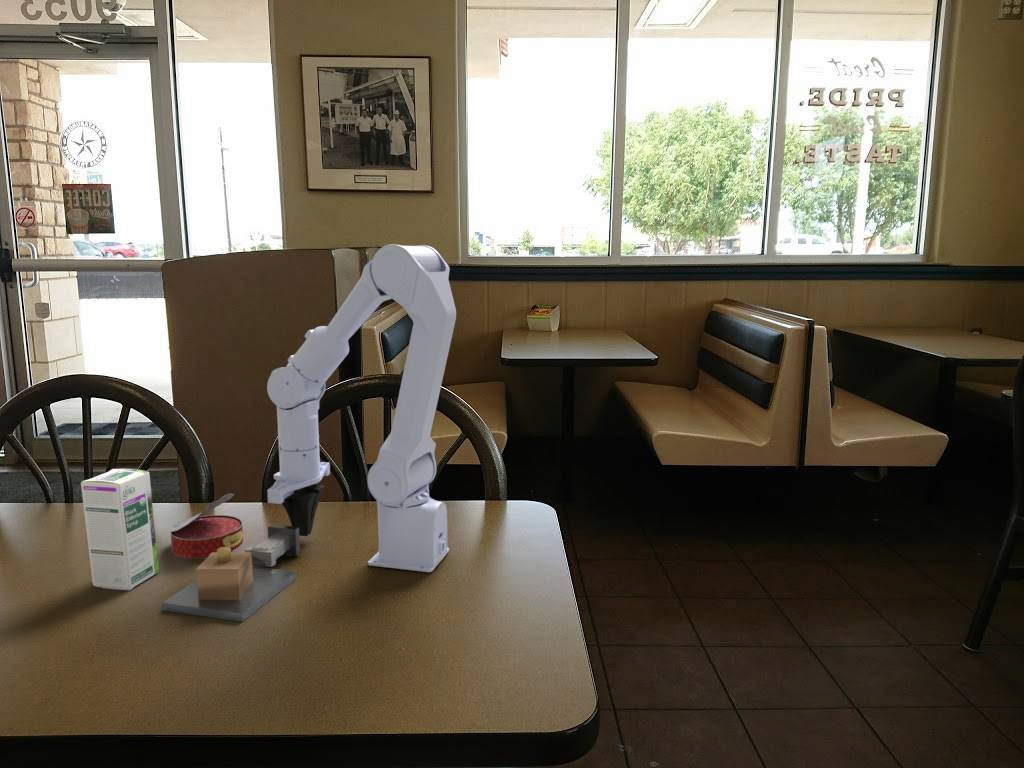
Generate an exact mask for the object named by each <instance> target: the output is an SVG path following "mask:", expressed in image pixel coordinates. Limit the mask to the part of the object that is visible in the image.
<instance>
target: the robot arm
mask: <svg viewBox="0 0 1024 768" xmlns="http://www.w3.org/2000/svg"><path fill="white" fill-rule="evenodd" d="M450 270H451V269H450V266H449V265H448V263H447V262H446V261H445V260H444V258H443V257H442V255H441V254H440V253H439V252H438V251H437V249H435V248H434V247H432V246H429V245H426V244H420V245H419V244H418V245H401V244H396V243H391V244H386V245H384V246H382V247H381V248H379V249H378V250H377V251H376V252H375V254H374V256H373V258H372V260H369V261H368V262H367V263H366V264H365V265H364V266H363V270H362V272H361V276H360V278H359V280H358V281H357V283H356V284H355V286H354V287H353V288H352V290H351V291H350V293H349V294H348V296H347V297H346V298H345V300H344V302H343V303H342V304H341V306H340V307H339V309H338V310H337V312H336V313H335V315H334V316H333V318H331V321H330V322H329V323H328V325H320V326H317V327H315V328H314V329H309V330H307V332H306V333H305V334H304V338H305V341H304V342H303V343H302V345H301V346H300V347H299V348H298V350H297V351H296V352H295V354H293V355H290V356H289V358H287V362H288V363H287V365H286V366H285V367H283V366H281V367H277V368H275V369H274V370H272V371H271V374H270V376H269V377H268V380H267V384H266V385H267V386H266V390H267V394H268V397H269V399H270V400H271V402H272V403H273V404H274V405H275V406H276V417H277V419H276V421H277V438H278V439H277V440H278V456H279V457H278V458H279V471H278V472H276V473H274V474H273V479H274V480H276V481H274V483H273V485H271V486H270V487H269V488H268V489H267V491H266V492H267V503H268V504H276V505H282V506H283V509H284V510H285V511H286V514H287V517H288V518H289V522H290V524H291V525H290V526H292V527H299V537H308V536H309V535H310V534H311V533H312V531H313V525H314V521H315V516H316V514H317V509H318V506H319V503H320V500H321V499H322V496H323V494H324V492H325V485H324V484H319V483H320V482H321V480H322V479H323V478H324V477H327V476H329V475H331V464H330V462H326V461H321V459H320V456H321V455H320V440H319V439H320V434H319V431H320V430H319V409H320V401H321V398H322V397H323V396H324V393H325V392H326V387H327V386H326V382H327V381H328V379H329V378H330V377H331V376H332V375H333V373H334V372H335V370H337V368H338V367H339V366H340V364H341V363H342V362H343V361H344V359H345V358H346V357H347V356H348V355H349V352H350V345H349V340H350V338H351V337H352V336H353V335H354V334H355V333H356V332H357V331H358V330H359V329H360V327H362V326H363V324H364V323H365V322H366V321H367V320H368V319H369V317H370V316H371V315H372V314H374V312H375V311H376V310H377V309H378V307H379V306H380V305H381V304H382V303H383V302H386V301H388V300H394V301H395V302H396V303H397V304H399V305H400V306H401V307H402V308H403V309H404V310H405V312H406V313H407V314H408V316H409V317H410V319H411V320H412V323H413V325H412V329H411V334H410V338H409V344H408V349H407V352H406V359H405V363H404V368H403V373H402V376H401V377H402V378H401V383H400V388H399V392H398V397H397V402H396V407H395V412H394V417H393V422H392V427H391V430H390V434H389V435H388V436H387V438H386V439H385V440H384V443H383V444H382V445H381V447H380V448H379V451H378V456H377V459H376V461H375V462H374V464H372V466H371V467H370V469H369V470H368V473H367V481H366V482H367V486H368V490H369V492H370V494H371V496H373V498H374V499H375V500H376V505H377V530H378V531H377V532H378V534H377V535H378V538H377V539H378V551H377V553H375V554H374V555H373V557H371V558H370V559H369V560H368V561H367V565H368V566H370V567H371V566H372V567H381V568H387V569H388V568H389V569H395V570H396V569H397V570H407V571H415V572H421V573H431V572H433V571H434V570H435V569H436V567H437V566H438V565H439V564H440V562H441V561H442V560H443V559H444V557H445V556H446V555H447V554H448V553H449V552H450V548H449V547H448V508H447V505H446V503H445V502H443V501H440V500H439V501H438V500H435V499H434V498H432V497H431V496H430V489H429V488H430V484H431V483H432V482H433V480H434V479H435V477H436V474H437V462H436V457H435V451H436V445H437V443H436V442H435V441H434V440H433V438H432V437H431V435H432V434H431V433H432V429H433V426H434V425H433V423H434V420H435V415H436V410H437V408H438V407H437V406H438V401H439V397H440V392H441V388H442V384H443V383H442V382H443V379H444V376H445V375H444V374H445V370H446V365H447V360H448V357H449V352H450V347H451V343H452V338H453V333H454V328H455V325H456V319H457V309H456V305H455V300H454V297H453V293H452V289H451V285H450V280H449V277H450V276H449V275H450Z"/></svg>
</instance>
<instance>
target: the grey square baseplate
mask: <svg viewBox="0 0 1024 768" xmlns="http://www.w3.org/2000/svg"><path fill="white" fill-rule="evenodd" d="M252 573H253V582H252V584H251V585H250V586H249V588H248V589H247V590H246V592H245V593H244V595H243V596H242V597H241V599H240V600H199V599H198V585H197V579H196V580H195V581H193V582H191V583H189V584H188V585H187V586H185V587H184V588H182V589H181V590H179V591H178V592H176V593H175V594H173V595H172V596H170V597H168V598H167V599H165V600H164V601H163V602H162V603H161V605H162V606H161V608H162V611H165V612H170V613H171V612H172V613H180V614H187V615H193V616H198V617H199V616H200V617H205V618H214V619H219V620H220V619H221V620H228V621H236V622H240V623H241V622H242V623H244V622H245V621H246V620H247V619H248V618H250V617H251V616H252V615H253V614H254V613H255V612H257V611H258V610H259V609H260V608H262V607H263V606H264V605H266V604H267V603H268V602H269V601H270V600H272V599H273V598H274V597H275V596H276V595H278V594H279V593H280V592H281V591H282V590H284V589H285V588H286V587H287V586H289V585H290V584H291V583H293V582H294V581H295V580H296V579H297V576H296V571H292V570H283V569H275V568H269V567H259V566H253V565H252Z"/></svg>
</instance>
